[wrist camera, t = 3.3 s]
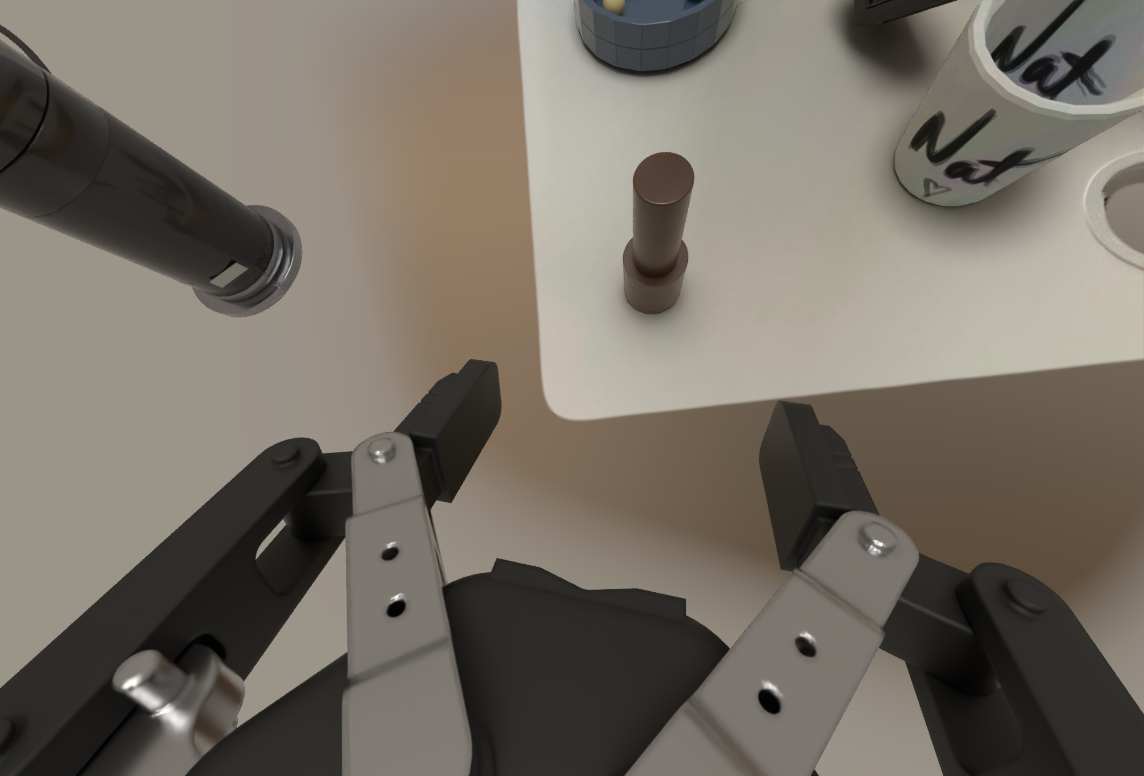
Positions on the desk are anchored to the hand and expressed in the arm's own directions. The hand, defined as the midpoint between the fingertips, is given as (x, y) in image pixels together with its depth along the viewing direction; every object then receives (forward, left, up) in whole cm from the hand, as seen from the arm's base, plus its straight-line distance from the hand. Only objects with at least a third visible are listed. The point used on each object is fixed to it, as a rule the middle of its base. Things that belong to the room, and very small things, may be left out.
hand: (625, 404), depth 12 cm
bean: (-25, +30, -18) cm, 43 cm away
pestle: (-6, +11, -20) cm, 23 cm away
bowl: (-22, +33, -20) cm, 44 cm away
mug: (+6, +34, -20) cm, 40 cm away
